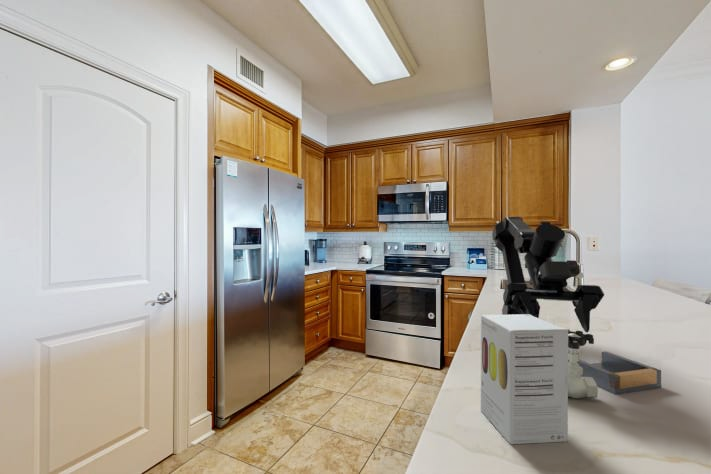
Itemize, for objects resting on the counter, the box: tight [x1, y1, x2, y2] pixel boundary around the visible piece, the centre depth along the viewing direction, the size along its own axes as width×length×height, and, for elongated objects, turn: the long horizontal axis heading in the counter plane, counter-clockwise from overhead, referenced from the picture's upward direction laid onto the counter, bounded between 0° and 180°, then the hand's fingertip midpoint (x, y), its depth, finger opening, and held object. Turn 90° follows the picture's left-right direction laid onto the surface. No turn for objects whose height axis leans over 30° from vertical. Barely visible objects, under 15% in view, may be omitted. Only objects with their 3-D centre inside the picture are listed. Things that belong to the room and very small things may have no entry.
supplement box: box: [480, 314, 569, 445], centre depth 50 cm, size 10×9×17 cm
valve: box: [568, 329, 599, 399], centre depth 59 cm, size 7×7×12 cm
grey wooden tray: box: [568, 350, 662, 395], centre depth 67 cm, size 11×12×4 cm
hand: (562, 329), depth 64 cm, fingers open, 9 cm apart
